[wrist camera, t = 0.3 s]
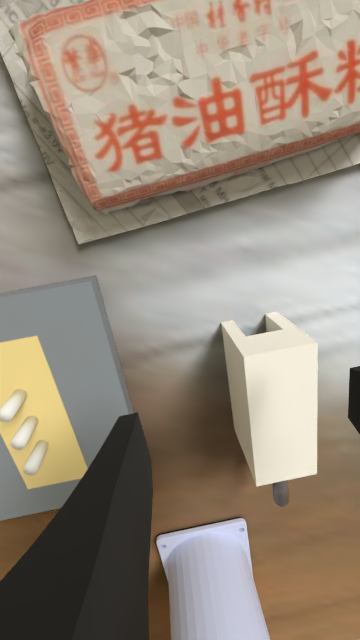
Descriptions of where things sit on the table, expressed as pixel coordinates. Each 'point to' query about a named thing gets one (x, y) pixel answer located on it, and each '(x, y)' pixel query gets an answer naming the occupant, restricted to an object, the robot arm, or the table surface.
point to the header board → (54, 392)
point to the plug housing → (274, 401)
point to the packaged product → (182, 100)
